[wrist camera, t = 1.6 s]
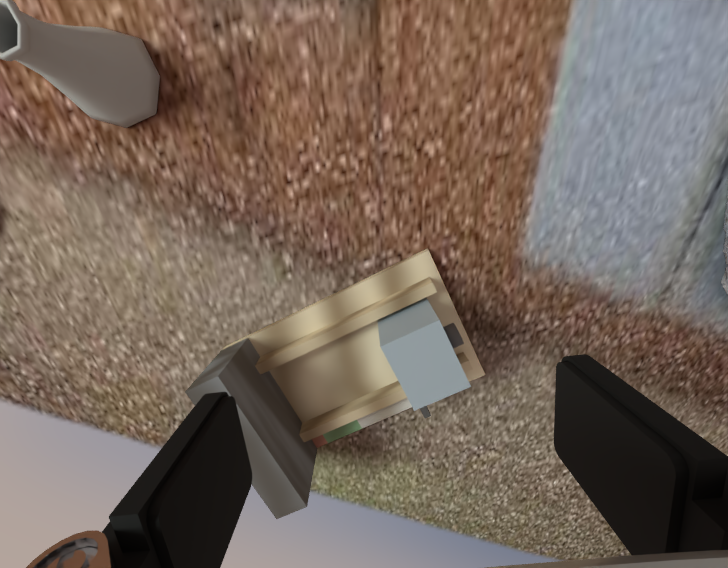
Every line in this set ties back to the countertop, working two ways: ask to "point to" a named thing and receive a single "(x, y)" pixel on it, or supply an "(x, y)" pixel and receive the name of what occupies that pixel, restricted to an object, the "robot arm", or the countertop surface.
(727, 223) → the food plate
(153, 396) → the countertop surface
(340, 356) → the board
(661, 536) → the robot arm
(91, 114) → the flask
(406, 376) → the grey cube with peg
